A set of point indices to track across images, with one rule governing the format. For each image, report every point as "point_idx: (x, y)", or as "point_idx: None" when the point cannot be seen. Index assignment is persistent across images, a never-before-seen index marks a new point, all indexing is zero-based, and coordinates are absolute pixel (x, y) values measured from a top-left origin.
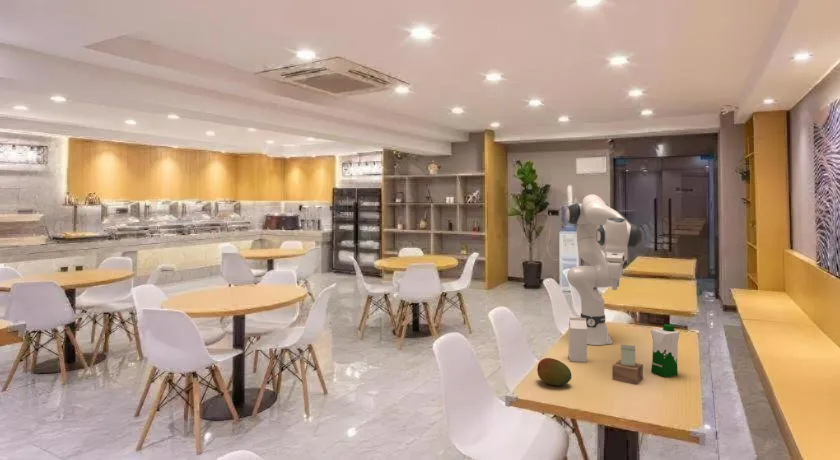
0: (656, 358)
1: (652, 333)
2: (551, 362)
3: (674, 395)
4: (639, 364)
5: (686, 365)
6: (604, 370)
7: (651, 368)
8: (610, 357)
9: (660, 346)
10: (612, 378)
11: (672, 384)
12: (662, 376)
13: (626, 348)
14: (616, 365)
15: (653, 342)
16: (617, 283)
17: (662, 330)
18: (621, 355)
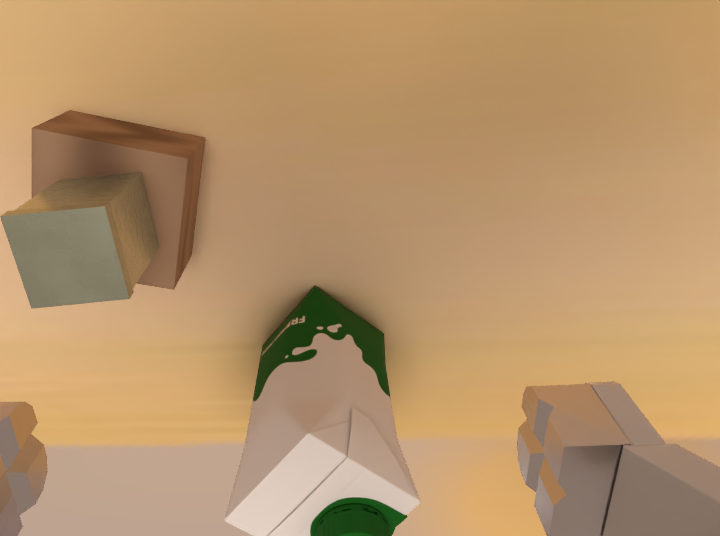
0: (269, 357)
1: (292, 429)
2: None
3: (27, 383)
4: (152, 273)
5: (511, 417)
6: (216, 45)
7: (315, 296)
8: (523, 50)
9: (248, 425)
10: (67, 112)
11: (177, 373)
12: (272, 334)
13: (13, 252)
14: (41, 152)
15: (282, 396)
16: (543, 499)
17: (307, 502)
18: (30, 201)
